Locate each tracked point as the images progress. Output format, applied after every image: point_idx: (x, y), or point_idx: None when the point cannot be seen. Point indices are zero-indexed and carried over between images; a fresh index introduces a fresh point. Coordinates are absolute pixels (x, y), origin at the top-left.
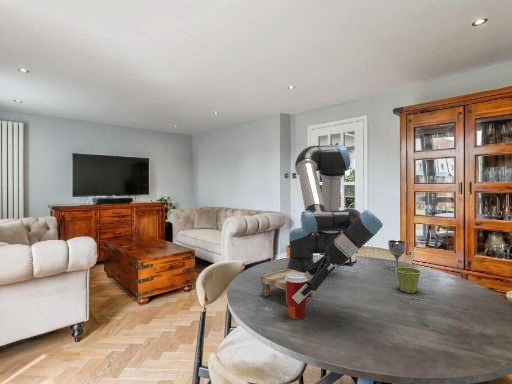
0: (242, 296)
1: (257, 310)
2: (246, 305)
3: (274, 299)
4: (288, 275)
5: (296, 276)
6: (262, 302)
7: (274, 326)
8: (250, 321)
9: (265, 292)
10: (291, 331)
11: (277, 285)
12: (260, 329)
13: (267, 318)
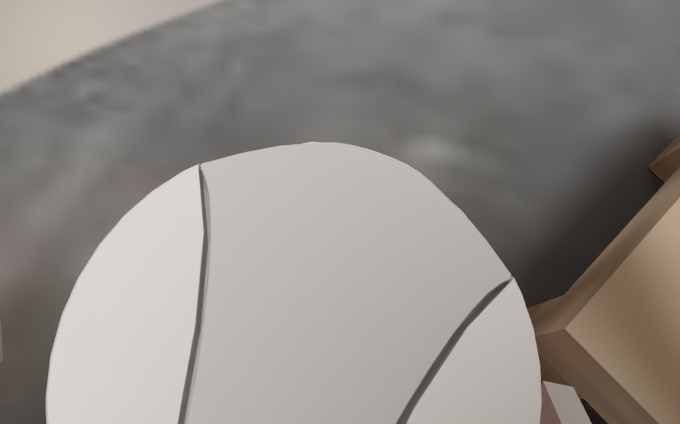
0: (631, 9)
1: (393, 89)
2: (476, 26)
3: (609, 228)
4: (293, 178)
5: (200, 350)
6: (539, 133)
7: (119, 181)
8: (221, 37)
9: (677, 146)
10: (12, 297)
11: (658, 199)
12: (92, 88)
13: (256, 145)
